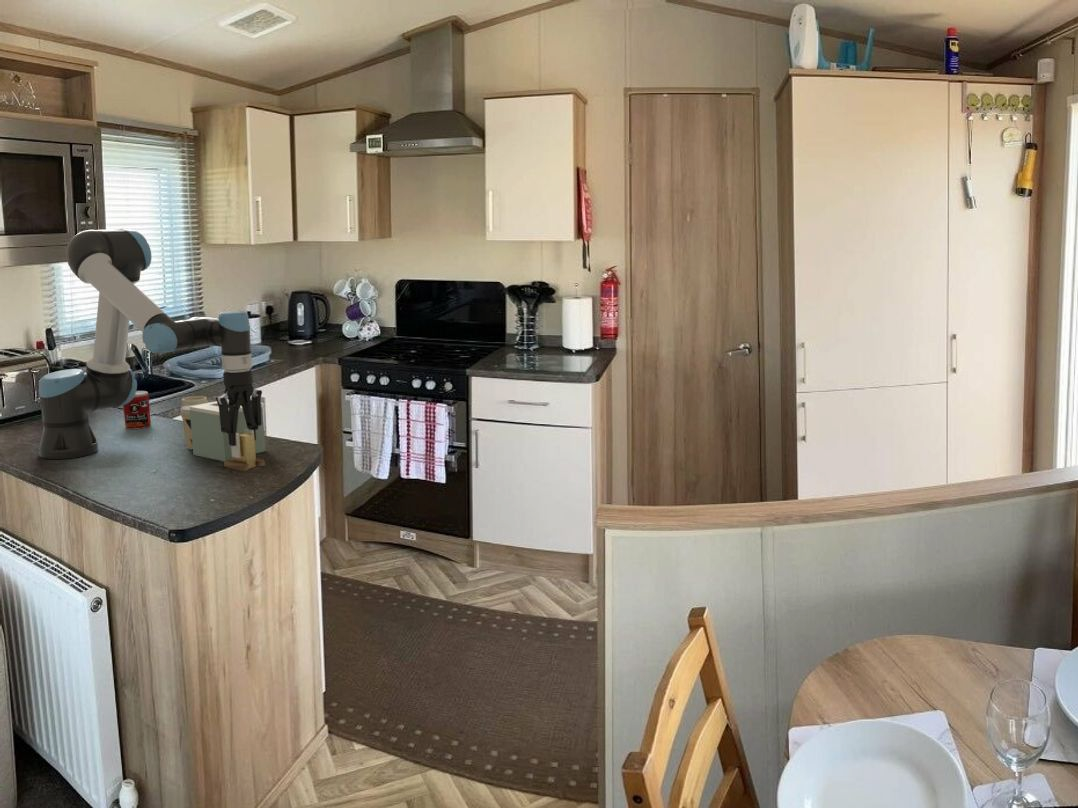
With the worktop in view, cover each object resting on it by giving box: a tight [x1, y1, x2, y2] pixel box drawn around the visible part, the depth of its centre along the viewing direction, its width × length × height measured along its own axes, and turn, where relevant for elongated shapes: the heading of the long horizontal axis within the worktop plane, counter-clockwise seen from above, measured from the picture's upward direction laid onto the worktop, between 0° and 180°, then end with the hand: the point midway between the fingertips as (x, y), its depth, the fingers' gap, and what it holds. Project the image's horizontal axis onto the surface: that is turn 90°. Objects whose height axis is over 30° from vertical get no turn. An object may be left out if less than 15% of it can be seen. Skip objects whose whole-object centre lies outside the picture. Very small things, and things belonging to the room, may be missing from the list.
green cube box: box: [190, 399, 266, 462], centre depth 261 cm, size 14×14×14 cm
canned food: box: [122, 390, 152, 429], centre depth 295 cm, size 8×8×11 cm
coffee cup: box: [180, 404, 200, 450], centre depth 268 cm, size 9×9×12 cm
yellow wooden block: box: [231, 431, 257, 469], centre depth 248 cm, size 3×6×9 cm, turn 57°
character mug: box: [180, 395, 210, 418], centre depth 275 cm, size 11×7×13 cm, turn 156°
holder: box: [223, 457, 266, 472], centre depth 248 cm, size 7×8×2 cm
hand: (243, 454), depth 248 cm, fingers open, 4 cm apart
